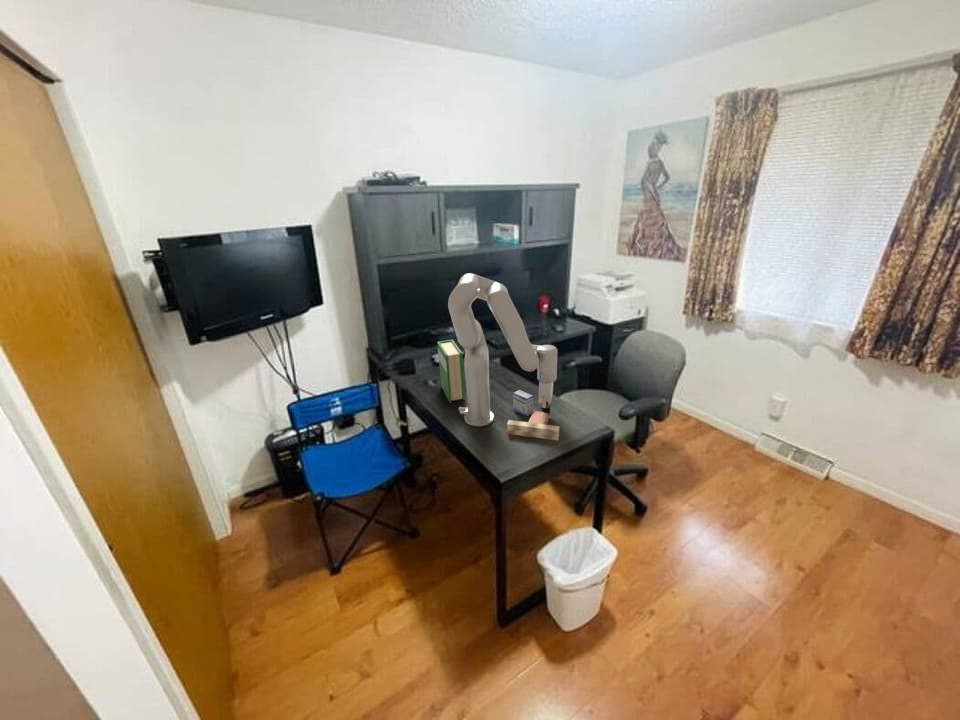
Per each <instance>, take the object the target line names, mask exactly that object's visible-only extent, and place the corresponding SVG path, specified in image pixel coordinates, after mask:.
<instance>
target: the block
mask: <svg viewBox="0 0 960 720" xmlns="http://www.w3.org/2000/svg"><path fill="white" fill-rule="evenodd" d="M527 422H529V423H537V424H545V425H548V422H549V416H548V413H545V412H542V411H538V410H533V413H531V416H530V418H529V420H528V421H527Z"/></svg>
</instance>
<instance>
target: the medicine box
mask: <svg viewBox="0 0 960 720" xmlns="http://www.w3.org/2000/svg"><path fill="white" fill-rule="evenodd" d="M512 400H513V401H512V402H513V403H512V410H513V411H514V412H517V413H518V414H521V415H523V416H526V417H528V416H530V415H532V414H533V412H534V395H533V394H531V393H527V392H526V391H523V390H521V389H518V390H517V391H514V392H513V394H512Z"/></svg>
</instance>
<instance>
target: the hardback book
mask: <svg viewBox="0 0 960 720" xmlns="http://www.w3.org/2000/svg"><path fill="white" fill-rule="evenodd" d="M436 342H437V352H438V355H437V356H438V363H439V374H440V375H439V376H440V386H441V389H442V390H443V393H444V395H445V396H446V399H447V401H448V403H449V404H452V403H453V402H452V401H457V400H463V401H466V392H465V380H464V379H465V378H464V377H465V374H464V362H463V361H464V360H463V352H462V350H461V349H460V348H459V346H458V345H457V343H456V342H455V341H454V339H447V340H446V339H445V340H440V341H436Z"/></svg>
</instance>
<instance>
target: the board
mask: <svg viewBox="0 0 960 720" xmlns="http://www.w3.org/2000/svg"><path fill="white" fill-rule="evenodd" d="M560 427H561V426H559V425H551V424H546V425H545V424H537V423H529V422H528V421H521V420H520V421H519V420H512V419H508V421H507V423H506V429H507V430H506V431H507V432H506V434H507V435H516V436H522V437H529V438H537V439H544V440H550V441H551V440H552V441H559V438H560Z"/></svg>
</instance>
